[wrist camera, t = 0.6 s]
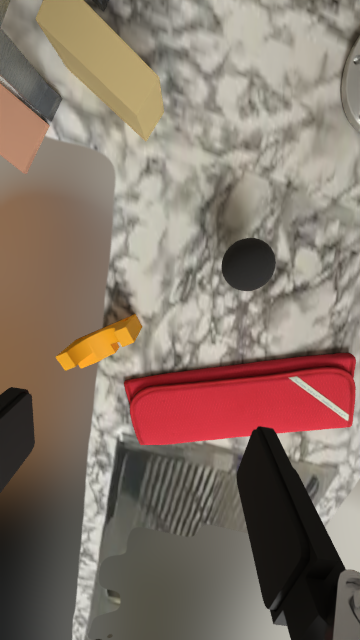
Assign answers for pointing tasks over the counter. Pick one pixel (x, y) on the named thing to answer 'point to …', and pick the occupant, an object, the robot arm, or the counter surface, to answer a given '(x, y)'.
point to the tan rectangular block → (103, 62)
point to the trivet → (19, 131)
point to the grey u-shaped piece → (28, 72)
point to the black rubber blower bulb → (248, 264)
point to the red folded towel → (243, 399)
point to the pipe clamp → (100, 343)
